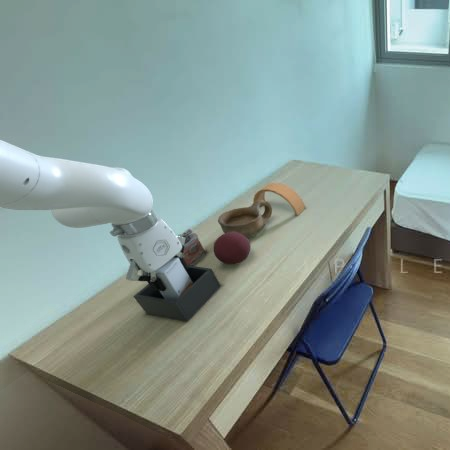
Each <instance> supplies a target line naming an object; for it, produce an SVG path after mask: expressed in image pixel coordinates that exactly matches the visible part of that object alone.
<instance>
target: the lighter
mask: <svg viewBox="0 0 450 450" xmlns="http://www.w3.org/2000/svg"><path fill="white" fill-rule="evenodd" d="M177 237H185V244H184V251H183V254H184V257H183V259H184V260H185V262H186V264H187V265H190V266H196V265H197V264H198V263H199V262H201V260H202V259H203V258H205V256H206V254H207V251H206V250H205V249H204V247H203V245H202V243H201V241H200V239H199V236H198V234H197V233H195V232H193V229H192V228H188V229H186V230H185V231H184V232H183V233H182V234H181V233H179V234H178V235H177Z"/></svg>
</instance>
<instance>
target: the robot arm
mask: <svg viewBox="0 0 450 450" xmlns="http://www.w3.org/2000/svg"><path fill="white" fill-rule="evenodd" d="M153 207H154V197H153V194H152V193H151V191H150V190H149V188H148V187H147V186H146V184H144V183H143V182H142V181H140V180H139V179H138V178H136V177H134V176H133V174H132V173H131V172H130V171H129V170H128V169H126V168H123V167H119V166H118V167H110V166H107V165H101V164H96V163H89V162H82V161H77V160H71V159H65V158H58V157H51V156H43V155H38V154H36V153H34V152H31V151H29V150H26V149H24V148H22V147H19V146H17V145H14V144H12V143H10V142H7V141H4V140H2V139H0V208H2V209H8V210H14V211H51V215H52V217H53V219H54V220H55V221H56V222H57V223H59V224H60V225H63V226H65V227H67V228H73V229H82V228H90V227H97V226H100V225H101V226H102V225H106V224H111V227H112V230H110V231H109V234H110V235H111V236H112V237H116V238H117V241H118V243H119V247H120V248H121V251H122V252H123V254H124V256H125V258H126V260H127V262H128V263H129V267H128V270H127V273H126V277H125V280H126V281H132V282H147V285H148V284H149V285H150V287H151V288H152V289H153V290H155V291H157V290H158V291H165V290H166V287H165V286H164V284H163V283H162V281H161V280H160V279H159V278H156V270H158V269H159V268H160V267H162V266H163V265H164V264H165V263H167V262H168V261H169V260H170V259H172V258H179V259H180V261H181V263H182V265H183V266H184V268H185V270H186V271H188V270H189V268H188V267H187V264H186V262H185V260H184V259H183V257H184V254H183V251H184V244H185V237H178V235H177V234H176V233H175V231H174V230H172V228H171V227H170V226H169V225H168V224H167V222H165V220H164V219H162V217H160V216H156V215H155V212H154V210H153ZM139 271H140V272H141V273H140V275H138V272H139ZM148 273H149V275H148Z"/></svg>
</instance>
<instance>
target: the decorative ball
mask: <svg viewBox="0 0 450 450" xmlns="http://www.w3.org/2000/svg"><path fill="white" fill-rule="evenodd" d="M212 250H213V254H214V257H215V258H216V259H217V260H218V261H219V262H220V263H222V264H225V265H230V266H232V265H233V266H234V265H238V264H241V263H243V262H244V261H245V260H246V259H247V258H248V257H249V255H250V253H251V243H250V241H249V239H248V238H246V237H245V236H244V235H242V234H240V233H237V232H228V233H222V234H221V235H220V236H219V237H217V238H216V240H215V241H214V244H213V249H212Z"/></svg>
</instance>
